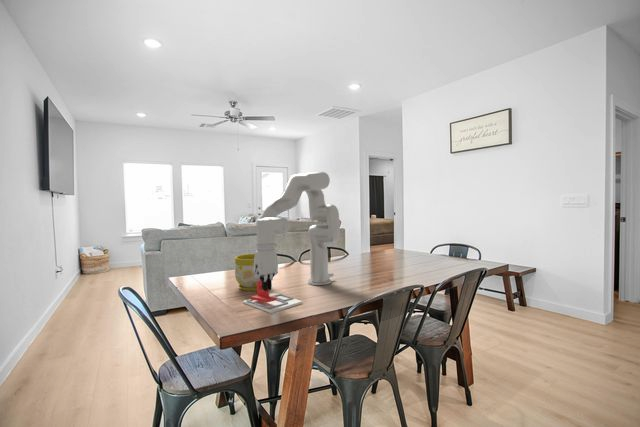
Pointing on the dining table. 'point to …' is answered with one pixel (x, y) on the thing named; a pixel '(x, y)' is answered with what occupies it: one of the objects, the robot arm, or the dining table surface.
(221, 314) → the dining table surface
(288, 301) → the fitting board
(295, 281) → the dining table surface
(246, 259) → the flowerpot
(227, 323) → the dining table surface
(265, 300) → the bracket
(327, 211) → the robot arm
